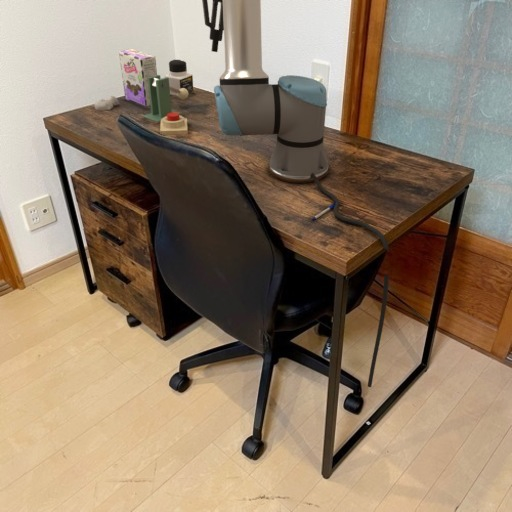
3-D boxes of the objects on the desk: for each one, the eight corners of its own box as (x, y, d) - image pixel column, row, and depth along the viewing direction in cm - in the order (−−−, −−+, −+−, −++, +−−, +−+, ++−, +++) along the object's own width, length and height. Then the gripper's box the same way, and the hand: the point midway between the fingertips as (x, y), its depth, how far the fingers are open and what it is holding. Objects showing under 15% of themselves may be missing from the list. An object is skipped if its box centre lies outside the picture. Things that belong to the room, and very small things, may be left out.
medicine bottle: (181, 99, 186) (178, 64, 179) (165, 96, 189) (162, 61, 182) (194, 94, 191) (191, 59, 184) (178, 91, 194) (176, 57, 187)
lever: (181, 99, 176) (184, 88, 175) (188, 101, 174) (192, 91, 173) (149, 86, 164) (153, 75, 163) (157, 89, 162) (160, 77, 161)
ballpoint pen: (336, 203, 123) (337, 199, 122) (340, 204, 123) (340, 200, 122) (311, 220, 116) (311, 216, 116) (314, 222, 116) (315, 218, 115)
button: (179, 121, 157) (179, 116, 156) (167, 122, 156) (166, 116, 155) (179, 117, 160) (179, 112, 159) (167, 118, 159) (166, 112, 158)
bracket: (166, 111, 175) (162, 72, 168) (181, 116, 171) (178, 76, 164) (142, 119, 169) (137, 78, 162) (157, 124, 165) (152, 83, 158)
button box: (188, 137, 156) (187, 124, 154) (160, 138, 156) (159, 125, 153) (187, 125, 165) (186, 112, 162) (161, 126, 164) (160, 113, 162)
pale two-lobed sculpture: (100, 118, 173) (92, 109, 175) (121, 112, 178) (113, 104, 180) (100, 106, 170) (91, 98, 172) (121, 100, 174) (113, 92, 176)
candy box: (124, 99, 185) (117, 50, 176) (139, 96, 189) (133, 48, 179) (146, 109, 177) (140, 58, 168) (160, 105, 180) (155, 55, 171)
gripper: (241, -26, 165) (232, 54, 173) (199, -34, 162) (192, 48, 170) (246, -29, 158) (236, 54, 166) (203, -37, 155) (195, 48, 163)
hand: (214, 51), depth 168 cm, fingers closed
